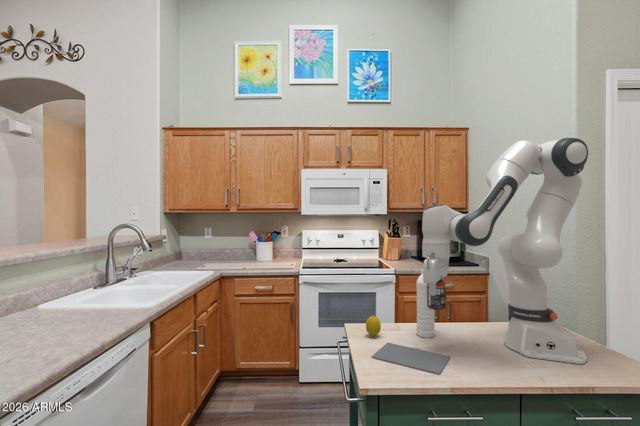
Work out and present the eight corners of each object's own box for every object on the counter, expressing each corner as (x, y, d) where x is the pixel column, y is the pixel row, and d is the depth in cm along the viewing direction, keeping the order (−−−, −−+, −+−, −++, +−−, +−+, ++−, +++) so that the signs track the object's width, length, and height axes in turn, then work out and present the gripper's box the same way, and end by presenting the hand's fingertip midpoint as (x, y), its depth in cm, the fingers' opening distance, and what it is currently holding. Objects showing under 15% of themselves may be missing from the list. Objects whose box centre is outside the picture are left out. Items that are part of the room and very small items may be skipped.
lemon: (363, 335, 123) (363, 314, 123) (375, 333, 125) (375, 312, 125) (370, 340, 118) (370, 318, 118) (383, 338, 120) (383, 316, 120)
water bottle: (421, 338, 119) (420, 270, 120) (414, 332, 126) (413, 268, 126) (443, 337, 120) (442, 270, 121) (435, 331, 126) (434, 267, 127)
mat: (450, 357, 103) (450, 355, 103) (440, 375, 91) (440, 373, 91) (387, 343, 114) (387, 342, 114) (371, 357, 103) (371, 356, 103)
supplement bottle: (430, 304, 114) (430, 272, 114) (448, 307, 110) (447, 274, 110) (424, 308, 109) (424, 274, 109) (442, 311, 105) (441, 276, 105)
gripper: (438, 255, 99) (438, 300, 99) (451, 250, 116) (452, 288, 116) (417, 254, 103) (418, 297, 102) (433, 249, 120) (434, 286, 120)
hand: (436, 292), depth 109 cm, fingers closed on supplement bottle, 6 cm apart
